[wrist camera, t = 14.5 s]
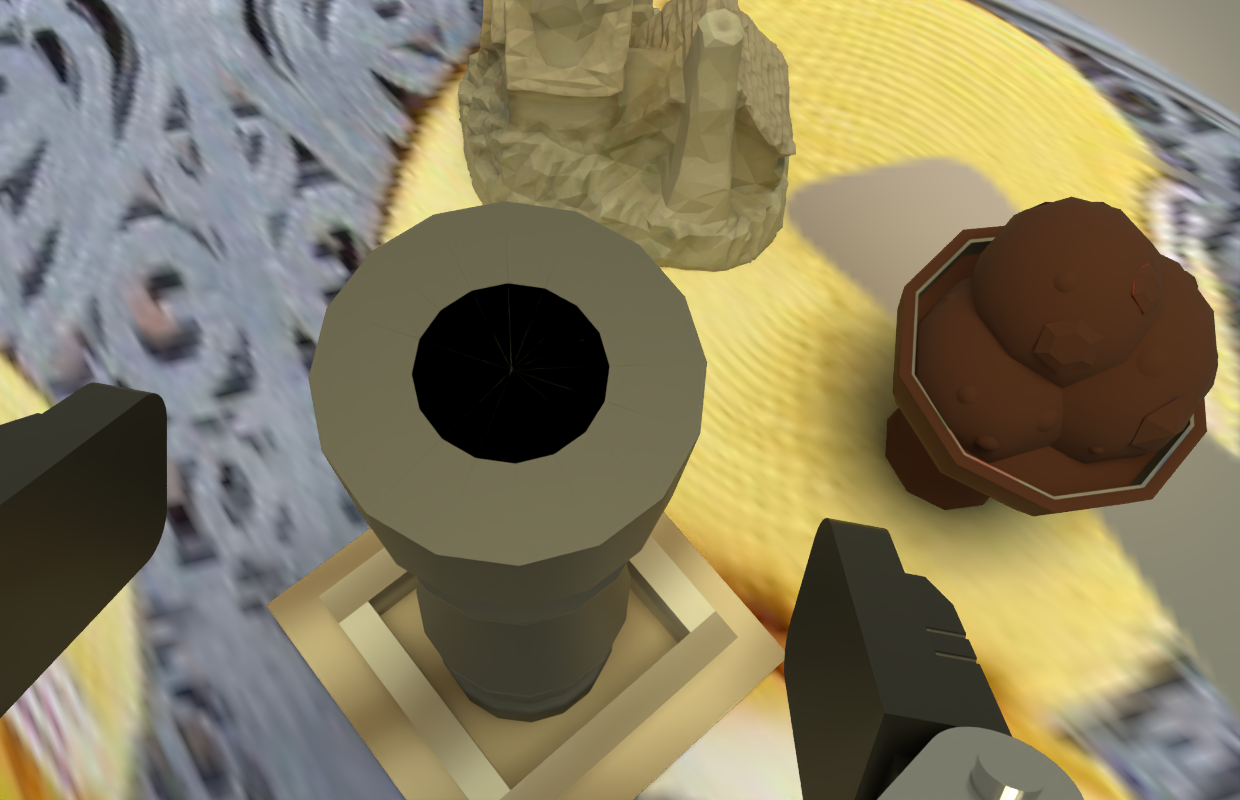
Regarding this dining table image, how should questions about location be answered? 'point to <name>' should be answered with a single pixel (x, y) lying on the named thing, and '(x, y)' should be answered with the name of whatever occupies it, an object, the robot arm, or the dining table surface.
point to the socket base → (545, 749)
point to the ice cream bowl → (1049, 365)
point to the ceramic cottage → (634, 122)
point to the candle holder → (511, 434)
